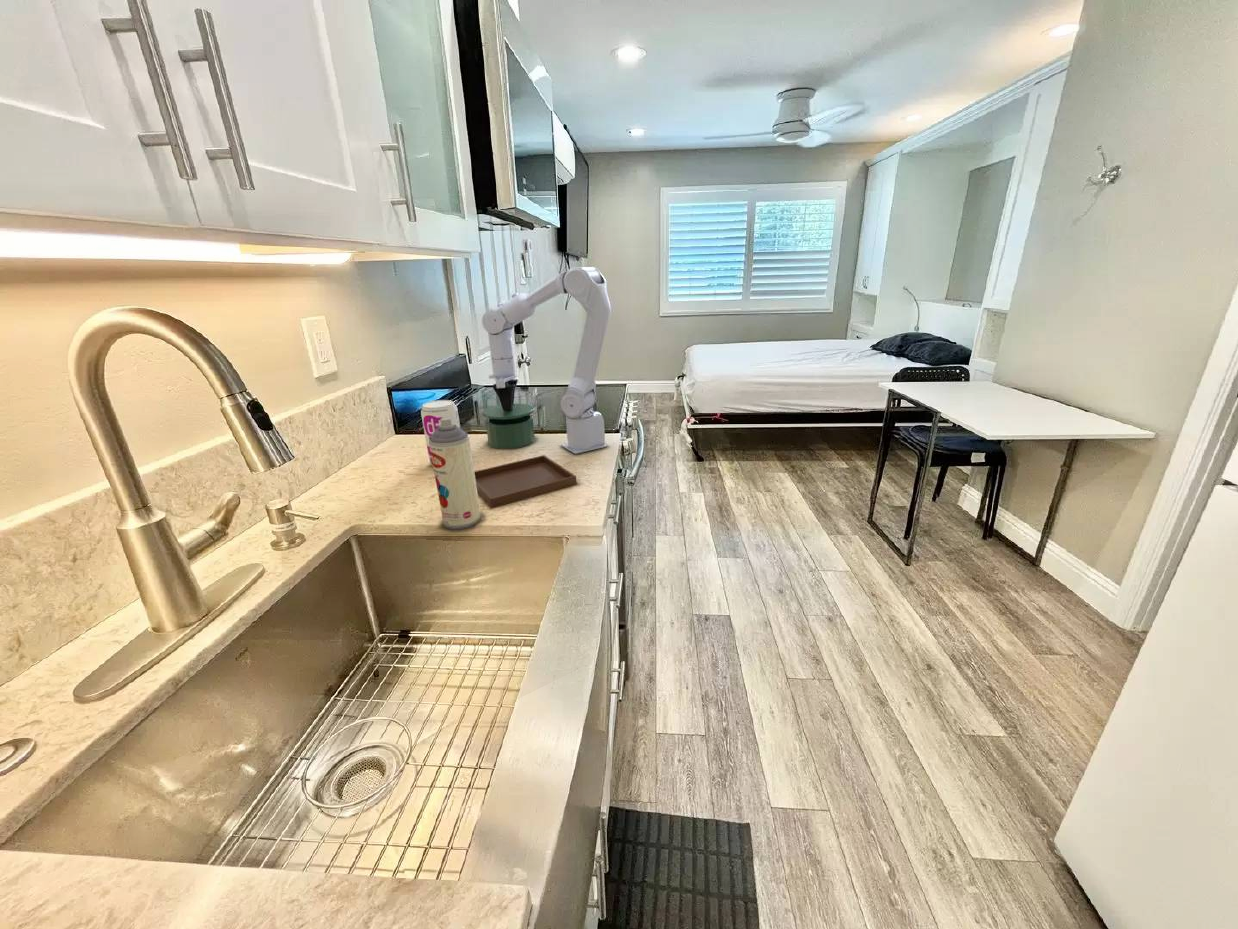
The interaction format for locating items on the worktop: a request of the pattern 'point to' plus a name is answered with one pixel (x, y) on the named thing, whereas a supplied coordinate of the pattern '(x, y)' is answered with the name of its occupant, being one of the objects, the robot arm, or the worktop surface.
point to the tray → (521, 480)
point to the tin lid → (508, 412)
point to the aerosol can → (454, 476)
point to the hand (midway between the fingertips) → (508, 408)
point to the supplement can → (437, 417)
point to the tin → (510, 432)
